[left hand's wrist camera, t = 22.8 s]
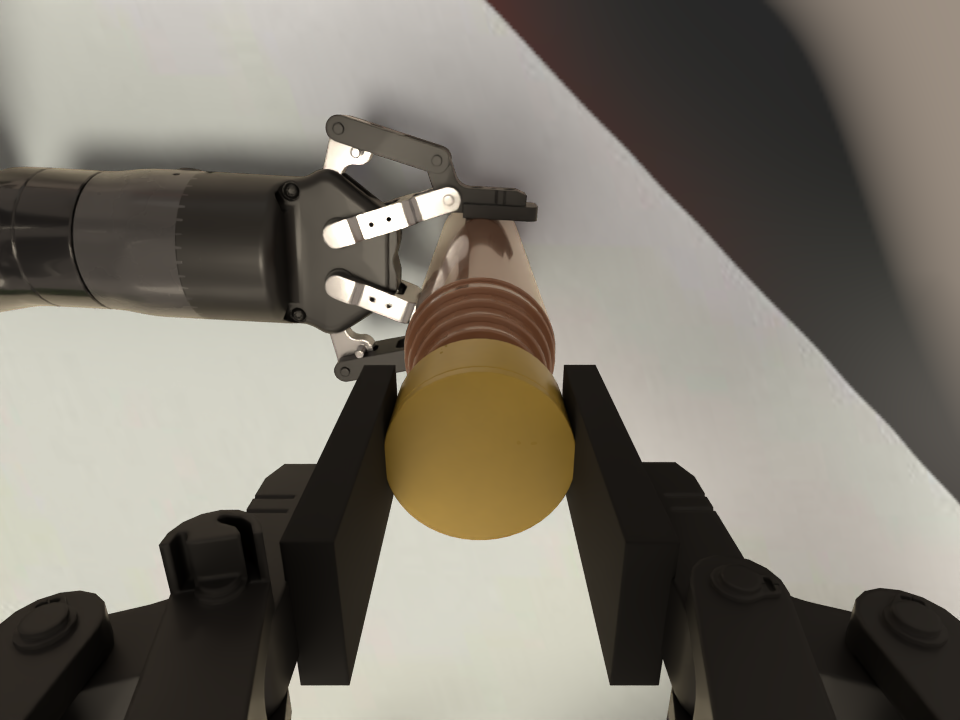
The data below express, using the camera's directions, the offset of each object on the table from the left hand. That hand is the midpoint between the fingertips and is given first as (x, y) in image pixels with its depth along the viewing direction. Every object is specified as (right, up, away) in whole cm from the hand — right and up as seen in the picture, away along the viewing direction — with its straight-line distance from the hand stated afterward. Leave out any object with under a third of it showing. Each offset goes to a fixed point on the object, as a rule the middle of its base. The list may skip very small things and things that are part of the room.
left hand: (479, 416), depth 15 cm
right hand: (+3, +6, +17) cm, 18 cm away
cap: (0, -1, -2) cm, 2 cm away
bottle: (0, +9, +23) cm, 24 cm away
